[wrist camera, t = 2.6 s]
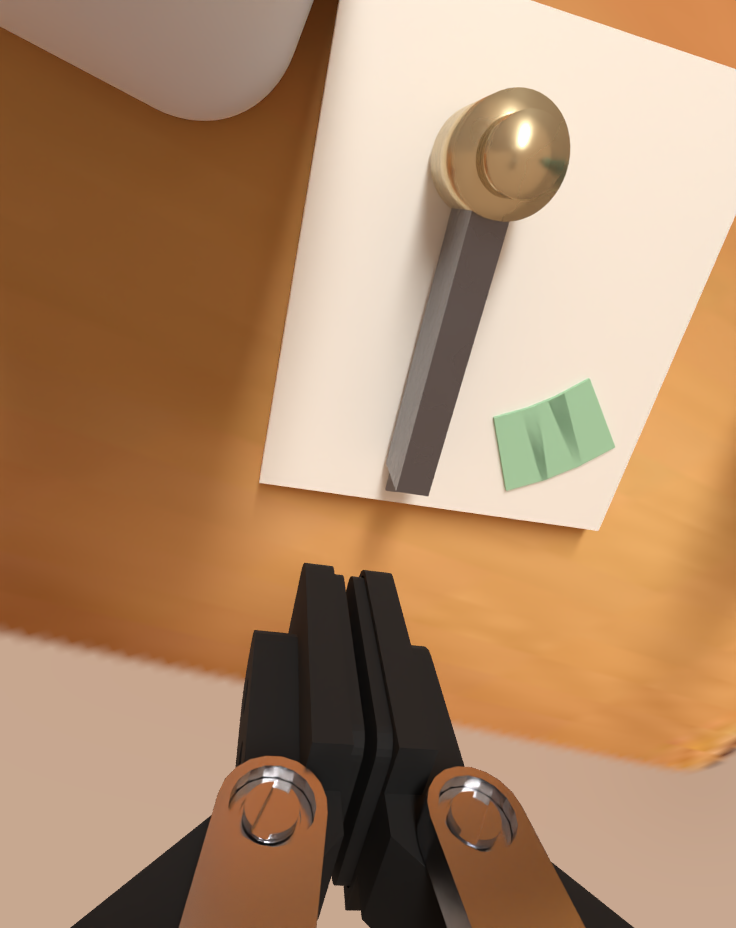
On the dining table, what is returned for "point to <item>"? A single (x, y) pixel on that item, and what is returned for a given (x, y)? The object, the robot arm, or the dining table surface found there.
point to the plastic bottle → (170, 47)
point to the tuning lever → (472, 254)
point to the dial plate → (520, 262)
